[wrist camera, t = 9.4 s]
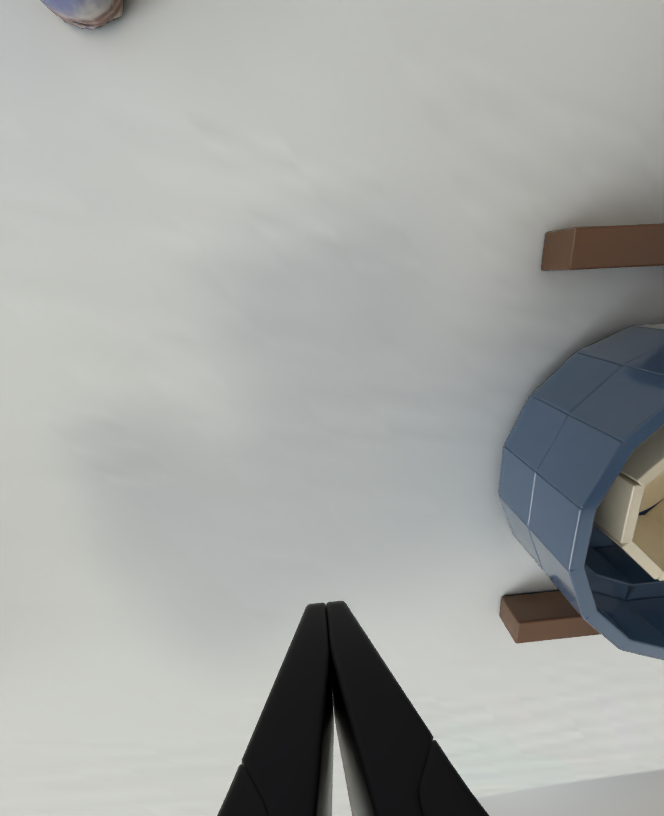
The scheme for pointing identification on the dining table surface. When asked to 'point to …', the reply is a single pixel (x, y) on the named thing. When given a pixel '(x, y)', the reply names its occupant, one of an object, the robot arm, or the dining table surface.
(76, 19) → the flask
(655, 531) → the small bowl
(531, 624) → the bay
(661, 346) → the blue-grey round ring piece
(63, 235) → the dining table surface
